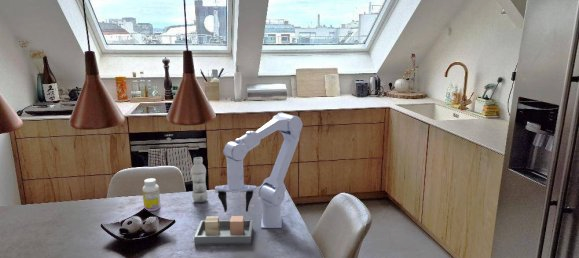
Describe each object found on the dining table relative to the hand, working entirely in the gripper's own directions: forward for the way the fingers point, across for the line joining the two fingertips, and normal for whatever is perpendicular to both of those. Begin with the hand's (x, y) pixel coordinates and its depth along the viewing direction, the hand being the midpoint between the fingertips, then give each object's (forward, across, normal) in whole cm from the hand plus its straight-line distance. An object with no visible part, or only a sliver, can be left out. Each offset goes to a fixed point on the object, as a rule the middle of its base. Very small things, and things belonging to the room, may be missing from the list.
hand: (236, 210), depth 147 cm
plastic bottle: (+11, -20, +32) cm, 39 cm away
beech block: (+9, -9, 0) cm, 13 cm away
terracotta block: (+9, 0, 0) cm, 9 cm away
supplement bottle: (+11, -38, +25) cm, 47 cm away
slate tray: (+10, -4, 0) cm, 11 cm away
